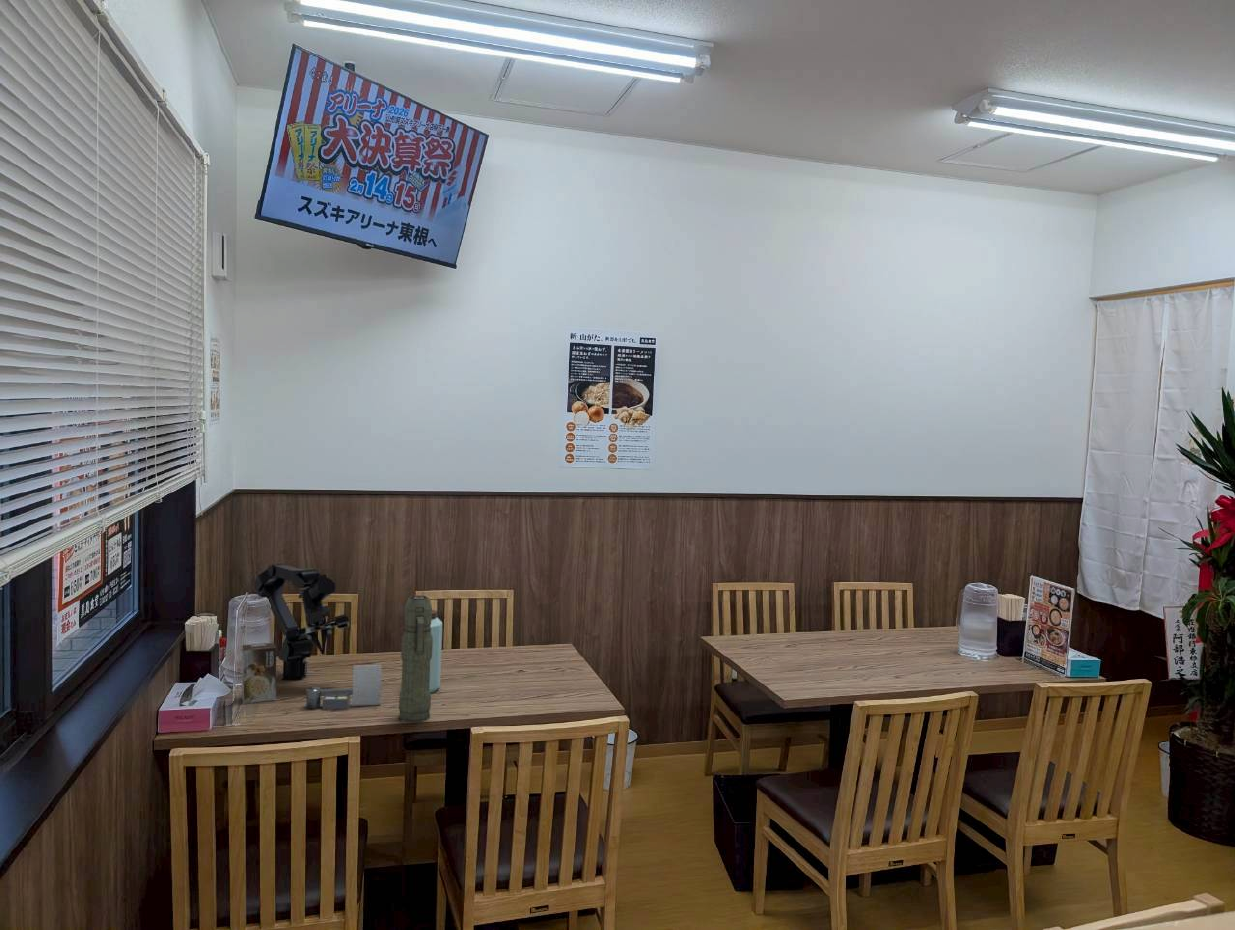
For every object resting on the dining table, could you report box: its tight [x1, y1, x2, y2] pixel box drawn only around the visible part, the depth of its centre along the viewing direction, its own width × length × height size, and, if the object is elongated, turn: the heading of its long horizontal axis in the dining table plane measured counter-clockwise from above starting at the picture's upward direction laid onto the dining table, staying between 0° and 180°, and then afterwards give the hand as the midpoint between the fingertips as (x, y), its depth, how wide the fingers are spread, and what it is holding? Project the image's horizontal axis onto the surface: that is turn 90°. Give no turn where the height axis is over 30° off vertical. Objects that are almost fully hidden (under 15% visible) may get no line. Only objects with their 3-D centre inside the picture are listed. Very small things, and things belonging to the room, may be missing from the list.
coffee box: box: [241, 642, 277, 704], centre depth 249 cm, size 9×6×16 cm
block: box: [322, 695, 351, 711], centre depth 246 cm, size 7×4×3 cm, turn 99°
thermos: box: [398, 595, 433, 723], centre depth 240 cm, size 9×12×35 cm
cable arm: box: [305, 664, 383, 710], centre depth 247 cm, size 21×4×12 cm, turn 104°
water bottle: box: [429, 609, 443, 694], centre depth 265 cm, size 10×10×25 cm
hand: (323, 654), depth 257 cm, fingers closed
